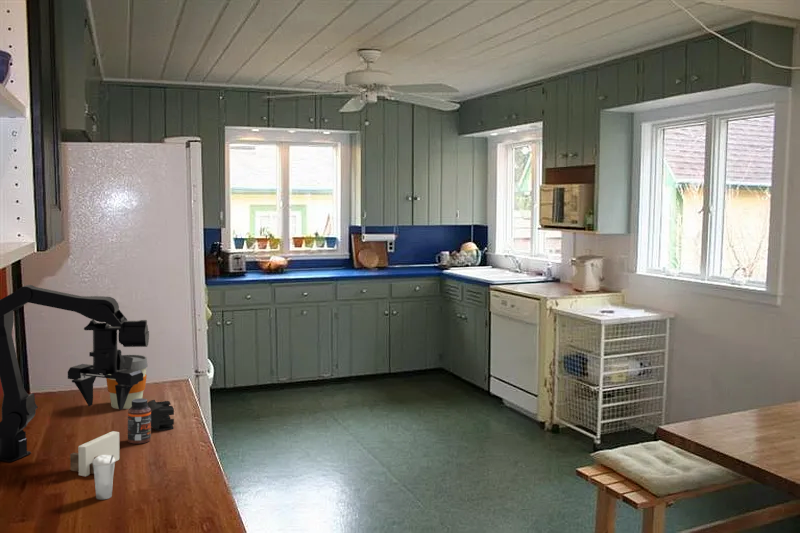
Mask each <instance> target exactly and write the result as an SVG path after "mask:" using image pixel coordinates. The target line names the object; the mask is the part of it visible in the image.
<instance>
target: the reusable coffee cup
mask: <svg viewBox="0 0 800 533" xmlns="http://www.w3.org/2000/svg"><path fill="white" fill-rule="evenodd" d="M121 355H122V356H127V357H130V358H133V362H132V366H131V369H137V370H141V371H142V372H143V381H140V382H139V383H138V384H135V385H134V386H133V387H132V388H131V390H130V392H129V394H128V396H127V399H126V402H125V405H124V407H123V409H122V410H129V409H130V408H131V407H132V400H134V399H140V398H142V399H143V396H144V395H143V394H144V391H145V390H146V384H147V376H148V375H147V374H146V373H147V368H148V358H147V356H144V355H140V354H121ZM124 370H127V369H122V370H117V372H121V371H124ZM108 375H111V374H108ZM105 380H106V386H107V388H106V389H107V391H108V393H109V398H110V405H111V408H113V409H115V410H116V409H117V410H119V408H118V403H117V396H116V390H115V385H117V384H118V383H117V382H116V379H110V378H105Z"/></svg>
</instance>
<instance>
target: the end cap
mask: <svg viewBox="0 0 800 533" xmlns="http://www.w3.org/2000/svg"><path fill="white" fill-rule="evenodd" d="M147 403H148V404H147V405H148V407H150V409H151V429H153V430H155V431H157V432H159V431H160V432H163V431H171V430H172V431H173V430H174V424H175V419H174V418H171V417H170V416H174V415H175V408H174V407H173V405H172V404H171V402H170V401H169V400H164V401H156V400H155V399H151V400H149V401H147Z"/></svg>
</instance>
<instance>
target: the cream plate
mask: <svg viewBox="0 0 800 533" xmlns="http://www.w3.org/2000/svg"><path fill="white" fill-rule="evenodd" d="M77 451H78V452H77V453H78V454H79V472H78V476H82V477H88V476H90V474H91V473H90V464H91V463H92V461H93V460H94V457H96V456H100V455H111V456H112V455H114V456H113V457H114V458H115V462H117V461H119V460H120V432H119V431H114V430H112V431H110V432H108V433H106V434H103V435H101V436H98V437H96V438H94V439H91V440H90V441H87V442H85V443H82V444H80V445H78V450H77Z"/></svg>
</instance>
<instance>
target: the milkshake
mask: <svg viewBox="0 0 800 533" xmlns="http://www.w3.org/2000/svg"><path fill="white" fill-rule="evenodd" d="M113 456H114V455H112V456H111V455H100V456H98V457H96V458H95V459H94V460H93V461H92V463H93V471H94V474H93V477H94V487H95V488H94V489H95V499H96V500H101V501H102V500H108V499H110V498H112V496H113V487H114V486H113V485H114V484H113V482H114V473H115V464H116V461H115V458H114V457H113Z"/></svg>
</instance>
